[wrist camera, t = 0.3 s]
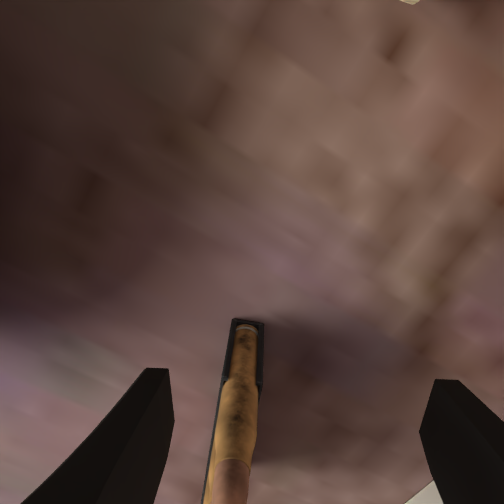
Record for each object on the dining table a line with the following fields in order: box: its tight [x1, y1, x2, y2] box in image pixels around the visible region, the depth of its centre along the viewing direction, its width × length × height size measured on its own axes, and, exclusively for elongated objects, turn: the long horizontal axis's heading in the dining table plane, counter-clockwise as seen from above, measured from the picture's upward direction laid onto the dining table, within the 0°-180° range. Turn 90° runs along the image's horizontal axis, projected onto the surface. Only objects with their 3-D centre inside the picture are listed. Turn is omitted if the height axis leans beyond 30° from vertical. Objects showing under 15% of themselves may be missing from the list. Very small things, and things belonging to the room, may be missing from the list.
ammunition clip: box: [201, 319, 264, 504], centre depth 17 cm, size 11×2×12 cm, turn 170°
